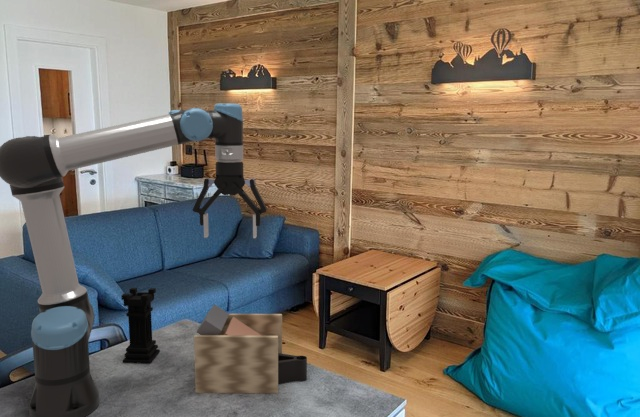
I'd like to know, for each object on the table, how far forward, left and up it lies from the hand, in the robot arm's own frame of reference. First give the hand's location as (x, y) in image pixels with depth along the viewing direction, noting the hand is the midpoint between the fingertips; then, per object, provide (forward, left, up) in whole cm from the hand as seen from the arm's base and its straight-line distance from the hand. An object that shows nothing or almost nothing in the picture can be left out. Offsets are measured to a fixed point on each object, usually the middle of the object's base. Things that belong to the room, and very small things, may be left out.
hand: (230, 237), depth 145 cm
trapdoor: (+1, -10, -27) cm, 28 cm away
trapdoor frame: (+4, -10, -37) cm, 38 cm away
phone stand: (+10, -11, -34) cm, 37 cm away
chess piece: (-27, +2, -37) cm, 46 cm away
